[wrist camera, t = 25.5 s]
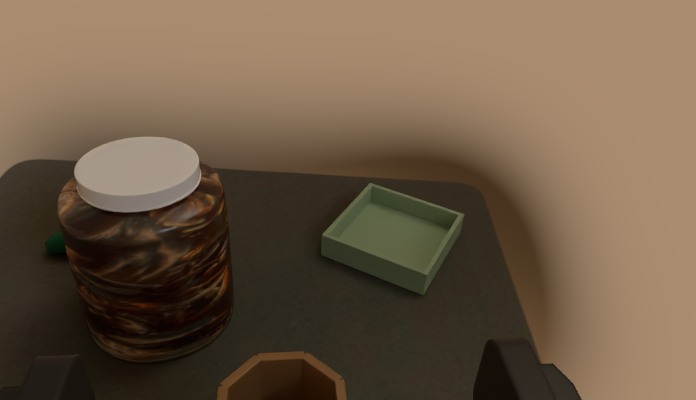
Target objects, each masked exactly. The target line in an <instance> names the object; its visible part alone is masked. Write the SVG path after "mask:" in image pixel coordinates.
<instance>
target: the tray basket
mask: <svg viewBox="0 0 696 400" xmlns="http://www.w3.org/2000/svg"><path fill="white" fill-rule="evenodd" d="M463 218H464V214H462V213H459V212H456V211H453V210H450V209H447V208H444V207H441V206H438V205H435V204H432V203H429V202H426V201H423V200H420V199H417V198H414V197H411V196H408V195H405V194H402V193H399V192H396V191H393V190H390V189H387V188H384V187H381V186H378V185H375V184H372V183H370V184H369V185H368V186H367V187H366V188H365V189H364V190H363V191H362V192H361V193H360V194H359V196H358V197H357V198H356V199H355V200H354V201H353V202H352V203H351V204H350V205H349V206H348V207H347V208H346V210H345V211H344V212H343V213H342V214H341V215H340V216H339V217H338V218H337V219H336V220H335V221H334V222H333V223H332V225H331V226H330V227H329V228H328V229H327V230H326V231H325V232H324V233H323V234H322V241H321V255H322V256H324V257H327V258H330V259H332V260H335V261H337V262H340V263H342V264H345V265H347V266H350V267H352V268H355V269H357V270H360V271H362V272H365V273H367V274H370V275H373V276H375V277H378V278H380V279H383V280H385V281H388V282H390V283H393V284H395V285H398V286H400V287H403V288H405V289H408V290H411V291H413V292H416V293H418V294H421V295H424V293H425V292H426V290H427V288H428V287H429V285H430V283H431V282H432V280H433V278H434V276H435V275H436V273H437V271H438V270H439V268H440V266H441V265H442V263H443V261H444V260H445V258H446V256H447V254H448V253H449V251H450V249H451V248H452V246H453V244H454V243H455V241H456V239H457V238H458V236H459V234H460V231H461V227H462V222H463Z"/></svg>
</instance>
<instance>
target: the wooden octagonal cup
mask: <svg viewBox="0 0 696 400" xmlns="http://www.w3.org/2000/svg"><path fill="white" fill-rule="evenodd" d="M217 400H347V396H346V389H345V381H344V380H342V376H340V375H339V374H338V373H336V372H335V371H333V370H332V369H330V368H329V367H328V366H326V365H325V364H323V363H322V362H320V361H319V360H318V359H316V358H315V357H313V356H312V355H311V354H309V353H306V354H304V351H298V352H278V353H259V354H258V357H257V356H256V355H254V356H253V357H252V358H250V359H249V360H248V361H247V362H246V363H244V364H243V365H242V366H241V367H239V368H238V369H237V370H236V371H235V372H233V373H232V374H231V375H230V376H228V377H227V378H226V379H225V380H224V381H222V382H221V383H220V386H219V387H218V391H217Z"/></svg>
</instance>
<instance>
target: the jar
mask: <svg viewBox="0 0 696 400" xmlns="http://www.w3.org/2000/svg"><path fill="white" fill-rule="evenodd" d="M74 175H75V176H74V177H73V178H72V179H71V180H70V181H69V182H68V183H67V184H66V185H65V186H64V188H63V189H62V191H61V193H60V196H59V199H58V206H57V207H58V217H59V222H60V227H61V232H62V236H63V240H64V244H65V248H66V252H67V255H68V259H69V263H70V266H71V270H72V274H73V277H74V281H75V284H76V288H77V291H78V295H79V298H80V302H81V305H82V308H83V312H84V315H85V318H86V322H87V325H88V328H89V331H90V334H91V336H92V338H93V340H94V341H95V343H96V344H97V345H98V346H99V347H100V348H101V349H102V350H103V351H105V352H106V353H108V354H110V355H112V356H114V357H116V358H119V359H122V360H126V361H131V362H140V363H154V362H163V361H169V360H173V359H177V358H180V357H183V356H186V355H189V354H191V353H193V352H195V351H197V350H199V349H201V348H203V347H204V346H206V345H207V344H209V343H210V342H211V341H213V340H214V339H215V338H216V337H217V336H218V335H219V334H220V333H221V332H222V331H223V330H224V328H225V327H226V326H227V324H228V322H229V320H230V318H231V315H232V312H233V305H234V301H233V281H232V266H231V252H230V240H229V227H228V217H227V207H226V200H225V193H224V189H223V185H222V182H221V179H220V178H219V176H218V175H217V173H216V172H215V171H214V170H213V169H212V168H211V167H210V166H208V165H207V164H205V163H203V162H201V161H199V158H198V155H197V153H196V152H195V150H194V149H192V148H191V147H190V146H188V145H187V144H185V143H182V142H180V141H177V140H173V139H169V138H162V137H132V138H126V139H120V140H117V141H112V142H109V143H106V144H103V145H101V146H99V147H97V148H94V149H93V150H91V151H89V152H88V153H86V154H85V155H84V156H82V157H81V159H80V160H79V161H78V162H77V164H76V166H75V168H74Z"/></svg>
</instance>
